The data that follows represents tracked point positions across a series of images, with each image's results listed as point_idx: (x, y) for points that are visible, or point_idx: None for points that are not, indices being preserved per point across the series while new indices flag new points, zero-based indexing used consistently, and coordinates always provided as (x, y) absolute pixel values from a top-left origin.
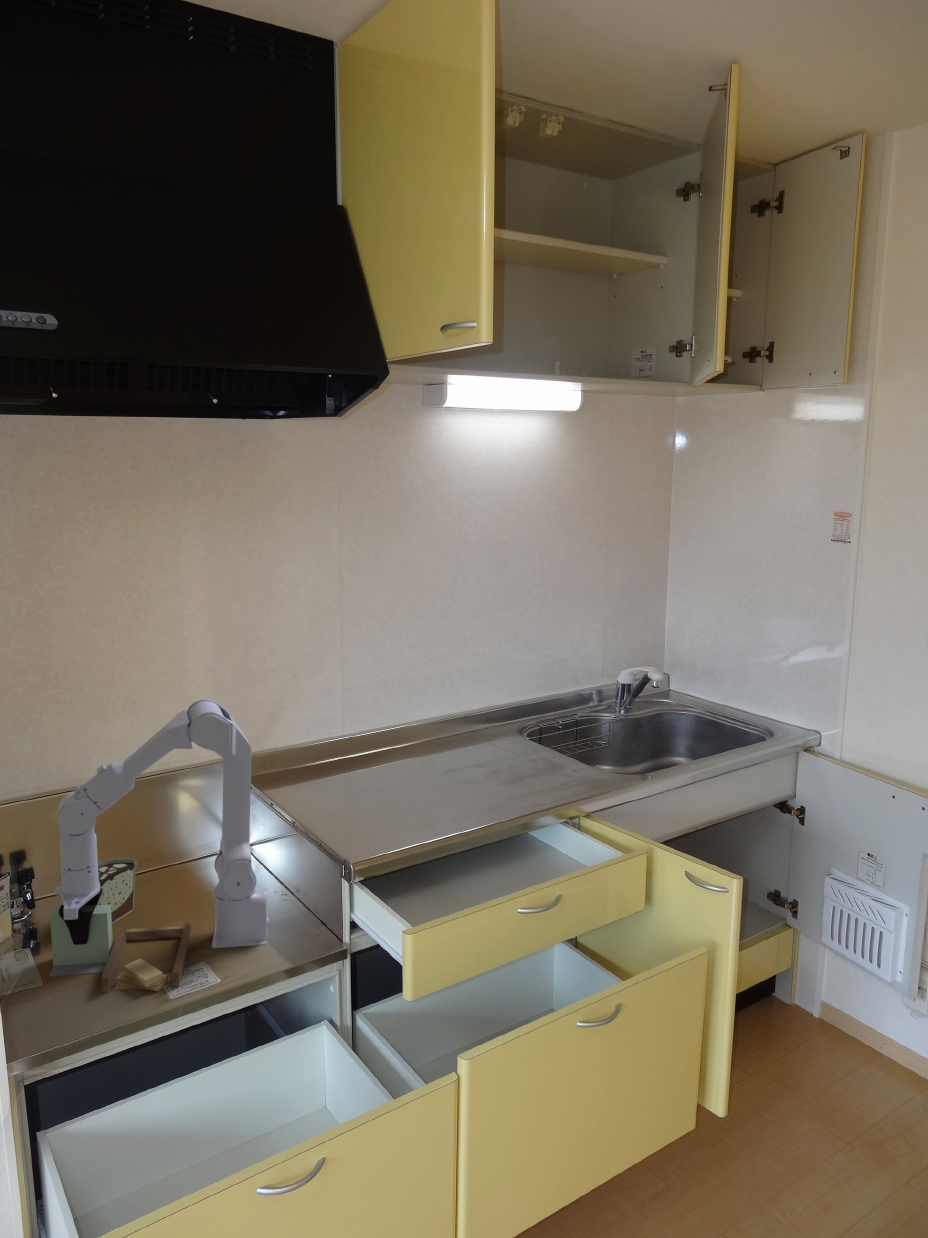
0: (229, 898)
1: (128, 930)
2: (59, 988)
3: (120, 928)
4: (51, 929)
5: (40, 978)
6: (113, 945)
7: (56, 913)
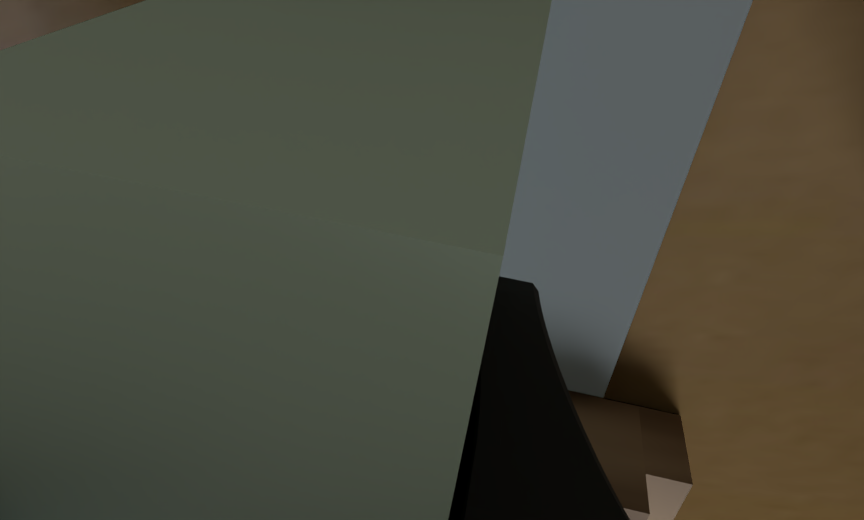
0: None
1: (653, 514)
2: (85, 14)
3: (628, 512)
4: (135, 14)
5: None
6: (582, 377)
7: (46, 300)
